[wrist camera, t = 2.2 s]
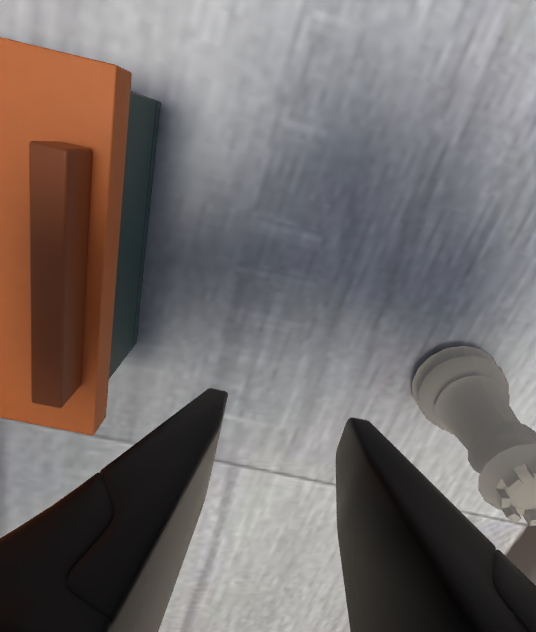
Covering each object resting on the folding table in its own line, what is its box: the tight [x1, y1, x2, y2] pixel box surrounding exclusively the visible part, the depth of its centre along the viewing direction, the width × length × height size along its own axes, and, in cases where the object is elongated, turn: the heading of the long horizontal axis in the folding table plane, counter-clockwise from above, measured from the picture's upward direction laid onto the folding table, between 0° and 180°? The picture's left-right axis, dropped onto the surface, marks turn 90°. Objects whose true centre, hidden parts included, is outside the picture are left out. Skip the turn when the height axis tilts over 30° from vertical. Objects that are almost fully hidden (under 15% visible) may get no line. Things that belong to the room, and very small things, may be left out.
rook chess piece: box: [412, 346, 536, 526], centre depth 18 cm, size 4×4×8 cm
